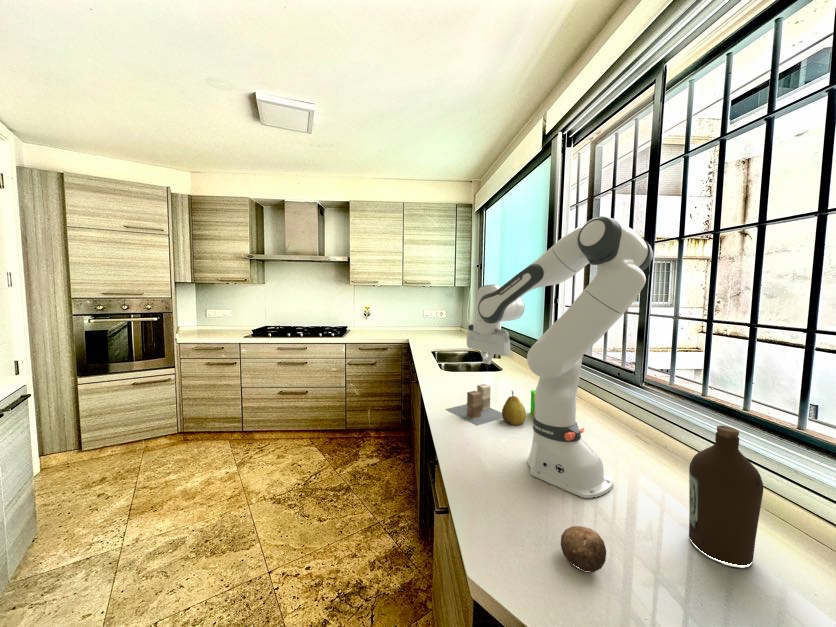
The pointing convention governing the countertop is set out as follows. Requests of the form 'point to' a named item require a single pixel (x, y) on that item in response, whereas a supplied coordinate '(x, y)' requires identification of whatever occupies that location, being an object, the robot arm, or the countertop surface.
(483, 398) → the ash block
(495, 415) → the mat
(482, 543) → the countertop surface
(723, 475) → the olive oil
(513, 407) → the fruit
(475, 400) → the walnut block
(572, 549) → the brown potato
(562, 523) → the countertop surface
